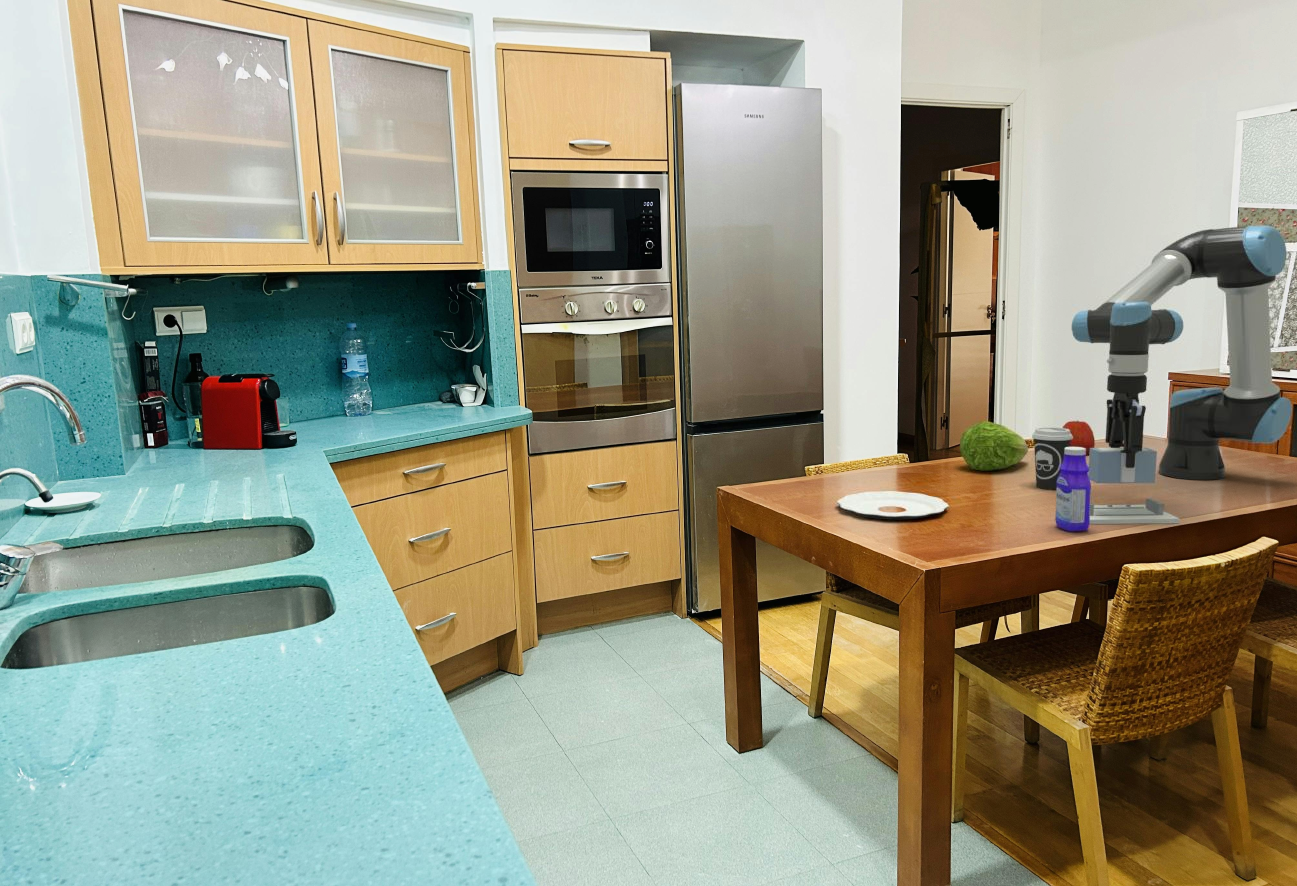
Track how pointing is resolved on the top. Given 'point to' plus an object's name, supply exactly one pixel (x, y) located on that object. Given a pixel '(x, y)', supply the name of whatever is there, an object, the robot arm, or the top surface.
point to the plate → (892, 504)
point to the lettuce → (991, 447)
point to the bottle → (1073, 491)
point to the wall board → (1131, 514)
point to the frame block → (1109, 465)
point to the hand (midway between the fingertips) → (1121, 479)
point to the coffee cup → (1049, 454)
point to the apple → (1081, 435)
